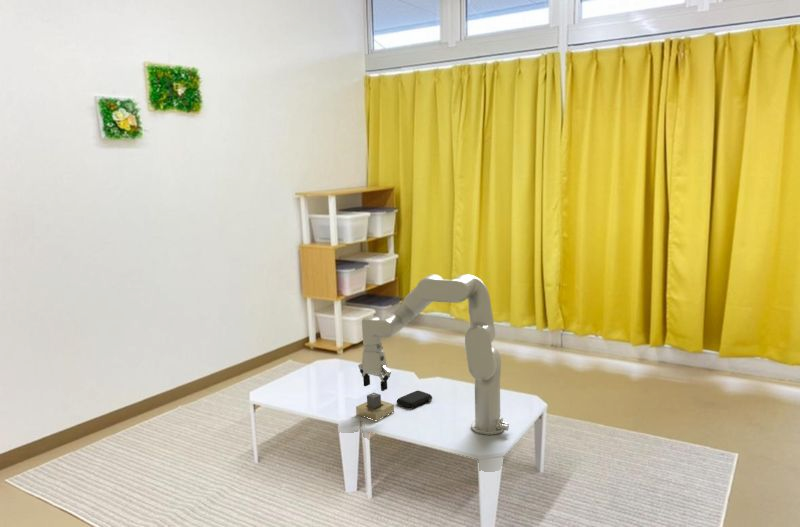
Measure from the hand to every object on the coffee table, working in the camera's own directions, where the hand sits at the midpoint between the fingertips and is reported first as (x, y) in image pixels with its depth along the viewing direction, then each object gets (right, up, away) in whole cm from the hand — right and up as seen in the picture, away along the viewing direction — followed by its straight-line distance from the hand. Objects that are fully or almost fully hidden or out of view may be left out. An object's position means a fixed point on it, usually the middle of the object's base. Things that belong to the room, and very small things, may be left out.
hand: (375, 387), depth 227 cm
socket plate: (0, -11, +2) cm, 11 cm away
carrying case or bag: (+17, -10, +12) cm, 23 cm away
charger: (-1, -11, +1) cm, 11 cm away
